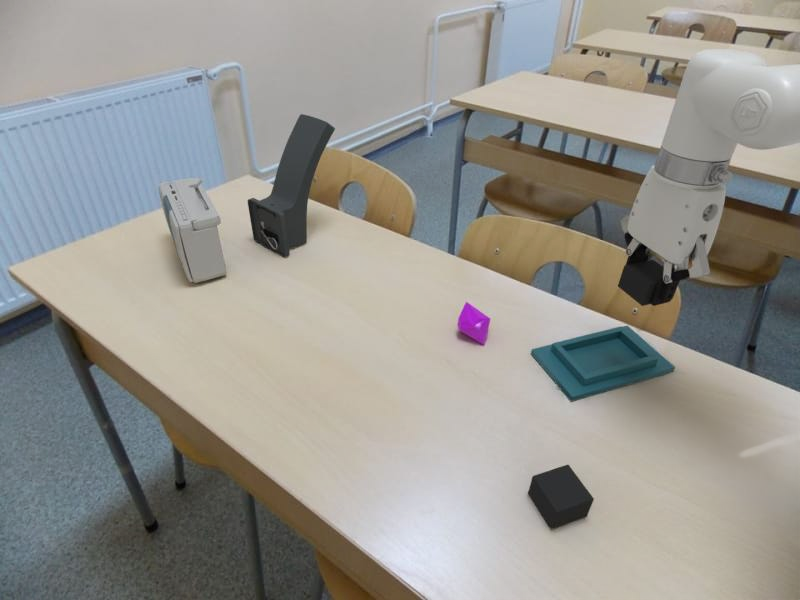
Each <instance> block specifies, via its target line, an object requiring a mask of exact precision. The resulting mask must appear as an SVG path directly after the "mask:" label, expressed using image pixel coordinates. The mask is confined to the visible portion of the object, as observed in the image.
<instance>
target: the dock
mask: <svg viewBox="0 0 800 600" xmlns="http://www.w3.org/2000/svg"><path fill="white" fill-rule="evenodd" d="M530 355H531V356H532V358H534V359H535V361H536V362H537V364H539V365H540V367H541V368H542V370H544V371H545V373H546V374H547V375H548V376H549V377H550V378H551V380H552V381H553V382H554V383H555V384H556V385H557V387H558V388H559V389H560V390H561V391H562V393H563V394H564V395H565V396H566V398H568V400H569V401H570V402H574V401H577V400H581V399H585V398H588V397H591V396H595V395H598V394H601V393H606V392H608V391H612V390H616V389H618V388H622V387H625V386H630V385H632V384H637V383H639V382H643V381H647V380H649V379H653V378H657V377H660V376H664V375H667V374H670V373H674V371H675V369H676V367H675V365H673V364H672V363H671V362H670V361H669V360H668V359H666V358H665V357H664V356H663V355H662V354H661V353H660V352H658V351H657V349H655V348H654V347H653V346H652V345H650V343H648V341H646V340H645V339H643V338H642V337H641V336H640V335H639V334H638V333H637V332H636V331H634V329H632V328H631V327H630V326H629V325H624V326H617V327H613V328H612V327H611V328H609V329H604V330H601V331H597V332H593V333H589V334H585V335H581V336H576V337H573V338H568V339H565V340H560V341H556V342H552V343H551V344H547V345H544V346H539V347H536V348H532V349H531V350H530Z"/></svg>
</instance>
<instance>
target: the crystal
mask: <svg viewBox="0 0 800 600" xmlns="http://www.w3.org/2000/svg"><path fill="white" fill-rule="evenodd" d="M490 323H491V318H490V317H489V316H487V315H486V314H484V313H483V312H482V311H480V310H479V309H477V308H476V307H475V306H474V305H472V304H470V302H468V301H465V303H464V305H463V307H462V310H461V312H460V314H459V316H458V319H457V327H458V331H460V332H461V333H463V334H464V335H466V336H468V337H469V338H471V339H473V340H474V341H476V342H478V343H479V344H481V345H483V346H485V345H486V340H487V335H488V331H489V327H490Z"/></svg>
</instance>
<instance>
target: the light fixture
mask: <svg viewBox="0 0 800 600" xmlns="http://www.w3.org/2000/svg"><path fill="white" fill-rule="evenodd" d="M335 130H336V128H335V126H333V125H332V124H330V123H329V122H328V121H325V120H323V119H321V118H317V117H316V116H315V117H314V116H311V115H307V114H302V113H301V114H299V117H298V118H297V119H296V122H295V124H294V126H293V128H292V131H291V132H290V135H289V137H288V139H287V141H286V144H285V146H284V148H283V152H282V154H281V158H280V160H279V163H278V166H277V170H276V173H275V177H274V182H273V186H272V189H271V192H270V194H269V195H268V196H267V197H265V198H262V199H260V200H259V199H257V198H254V197H251V198H249V199H247V207H248V213H249V220H250V225H251V231H252V237H253V241H254V242H256V243H257V244H258V245H261V246H262V247H264V248H266V249H268V250H270V251H271V252H273V253H275V254H277V255H278V256H281V257H283V258H286V257H288V256H290V249H294V248H296V247H299V246H303V245H305V244H307V242H308V232H307V231H308V230H307V229H308V227H307V226H308V222H307V221H308V203H309V196H310V192H311V187H312V185H313V184H312V183H313V179H314V178H315V174H316V171H317V168H318V166H319V162H320V160H321V158H322V155H323V153H324V151H325V149H326V147H327V145H328V143H329V141H330V139H331V138H332V136H333V135H334V134H333V133H334V132H335Z"/></svg>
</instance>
